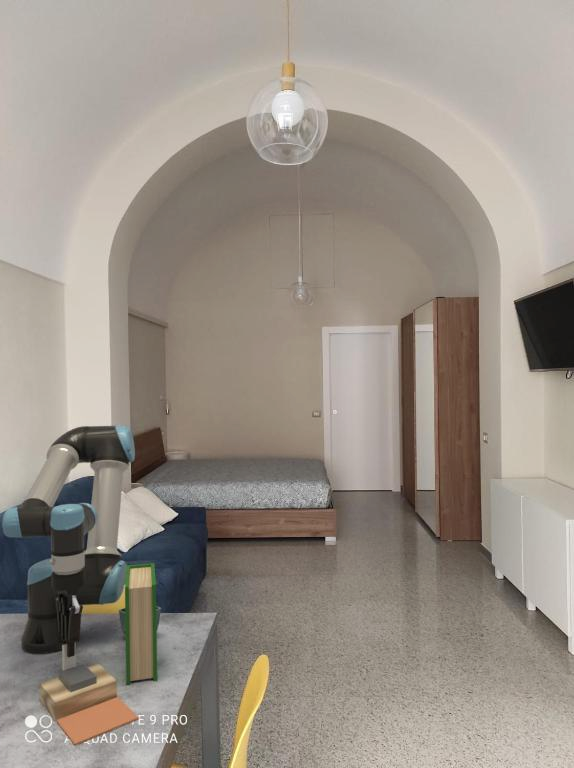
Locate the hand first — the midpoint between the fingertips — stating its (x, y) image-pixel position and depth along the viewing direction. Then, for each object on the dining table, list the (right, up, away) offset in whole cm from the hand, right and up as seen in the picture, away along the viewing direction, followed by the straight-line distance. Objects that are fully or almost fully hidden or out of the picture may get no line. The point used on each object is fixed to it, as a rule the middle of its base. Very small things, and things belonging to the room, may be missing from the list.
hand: (69, 668), depth 138 cm
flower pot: (+10, -6, +27) cm, 30 cm away
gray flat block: (+3, -1, -4) cm, 5 cm away
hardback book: (+15, -5, +11) cm, 19 cm away
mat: (+11, -5, -13) cm, 18 cm away
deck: (+4, -5, -4) cm, 8 cm away
